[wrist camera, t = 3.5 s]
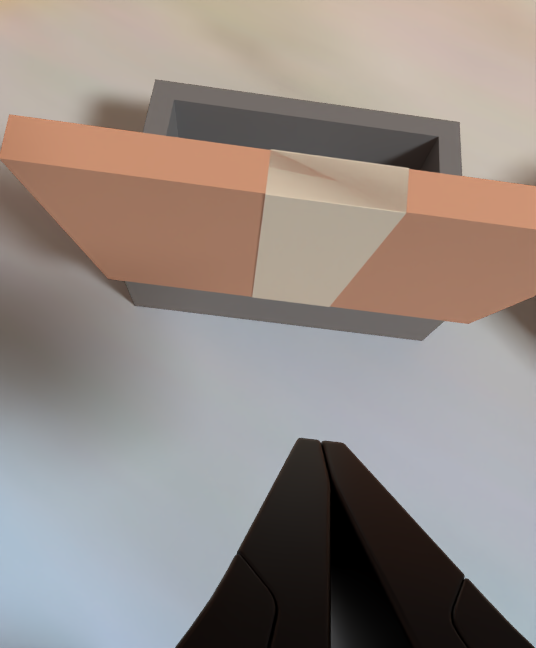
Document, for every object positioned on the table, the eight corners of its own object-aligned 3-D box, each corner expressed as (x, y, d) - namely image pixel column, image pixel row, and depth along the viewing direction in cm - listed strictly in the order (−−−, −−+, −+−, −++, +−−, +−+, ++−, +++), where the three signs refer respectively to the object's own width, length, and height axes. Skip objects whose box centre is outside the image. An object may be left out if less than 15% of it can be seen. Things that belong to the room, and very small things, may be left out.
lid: (469, 298, 20) (468, 324, 20) (112, 253, 19) (108, 279, 19) (654, 201, 11) (657, 246, 11) (9, 113, 11) (-2, 159, 10)
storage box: (422, 340, 25) (468, 300, 20) (134, 305, 24) (113, 255, 19) (420, 187, 28) (459, 122, 23) (167, 153, 27) (155, 79, 23)
